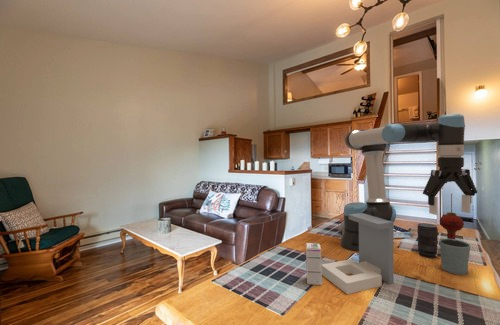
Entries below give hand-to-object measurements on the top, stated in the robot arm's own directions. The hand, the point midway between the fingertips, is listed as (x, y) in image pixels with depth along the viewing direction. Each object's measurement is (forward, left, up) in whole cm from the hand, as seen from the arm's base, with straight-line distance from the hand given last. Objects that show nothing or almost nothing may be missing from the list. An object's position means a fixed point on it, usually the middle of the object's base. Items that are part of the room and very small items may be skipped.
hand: (449, 213), depth 91 cm
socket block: (-17, -29, -28) cm, 43 cm away
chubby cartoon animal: (-63, +4, -28) cm, 69 cm away
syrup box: (-21, -46, -28) cm, 57 cm away
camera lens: (-23, +20, -28) cm, 41 cm away
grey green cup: (-8, +15, -28) cm, 33 cm away
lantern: (-21, +34, -28) cm, 49 cm away
